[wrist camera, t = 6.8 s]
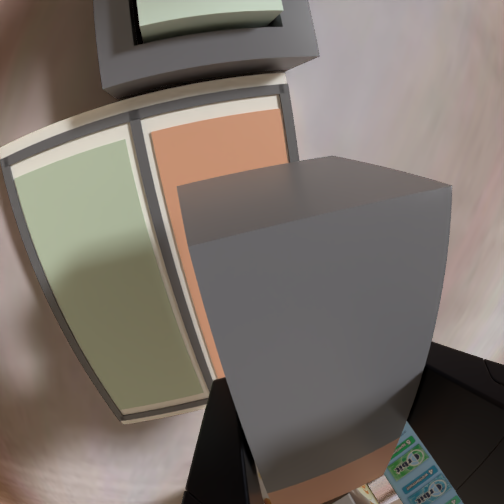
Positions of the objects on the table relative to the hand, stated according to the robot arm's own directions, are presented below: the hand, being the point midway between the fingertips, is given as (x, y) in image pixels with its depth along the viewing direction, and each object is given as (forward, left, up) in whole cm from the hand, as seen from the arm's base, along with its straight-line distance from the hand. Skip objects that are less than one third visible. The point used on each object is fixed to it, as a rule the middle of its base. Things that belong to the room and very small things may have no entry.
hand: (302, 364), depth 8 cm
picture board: (+3, 0, -7) cm, 8 cm away
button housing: (0, -12, -7) cm, 14 cm away
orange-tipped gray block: (0, 0, -2) cm, 2 cm away
